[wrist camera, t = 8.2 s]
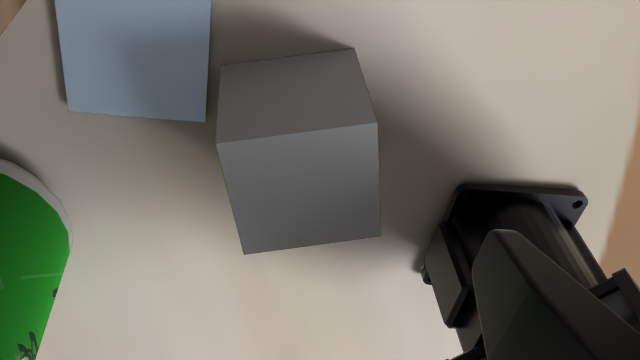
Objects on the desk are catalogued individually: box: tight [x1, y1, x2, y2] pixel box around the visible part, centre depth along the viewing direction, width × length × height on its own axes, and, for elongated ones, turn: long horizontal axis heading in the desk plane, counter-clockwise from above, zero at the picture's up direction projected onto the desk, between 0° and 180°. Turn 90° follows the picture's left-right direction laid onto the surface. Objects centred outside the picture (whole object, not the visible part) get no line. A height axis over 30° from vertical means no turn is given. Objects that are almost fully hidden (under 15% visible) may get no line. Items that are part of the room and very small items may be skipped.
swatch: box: [54, 0, 212, 122], centre depth 20 cm, size 5×5×1 cm
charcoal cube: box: [215, 48, 381, 255], centre depth 21 cm, size 5×5×5 cm
